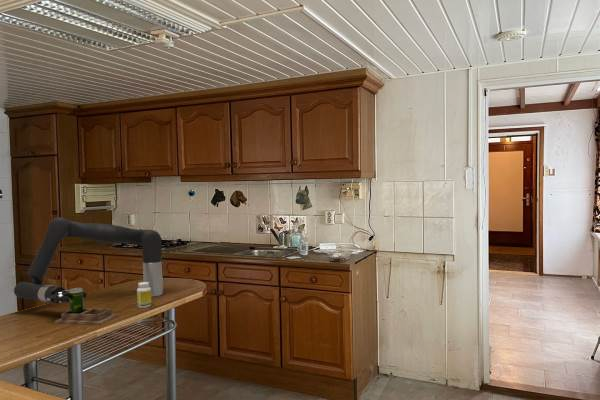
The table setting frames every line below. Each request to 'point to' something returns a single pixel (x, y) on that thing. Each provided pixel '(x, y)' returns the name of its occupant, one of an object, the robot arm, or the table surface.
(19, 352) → the table surface
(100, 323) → the rack
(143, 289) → the pill bottle
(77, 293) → the beer can
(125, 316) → the table surface
